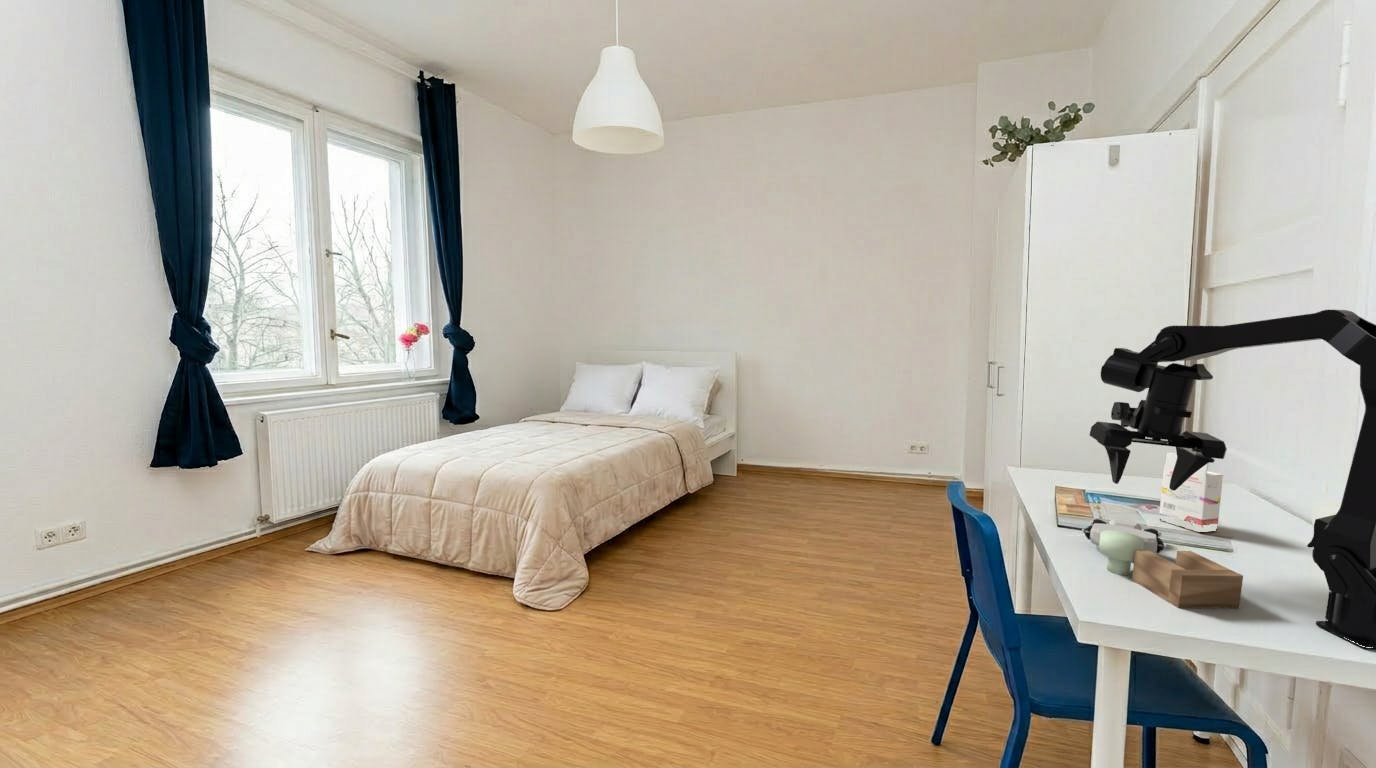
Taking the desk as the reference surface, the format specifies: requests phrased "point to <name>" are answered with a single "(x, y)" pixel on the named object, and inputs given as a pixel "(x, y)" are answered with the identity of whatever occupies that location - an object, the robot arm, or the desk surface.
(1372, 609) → the robot arm
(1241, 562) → the desk surface
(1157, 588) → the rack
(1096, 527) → the robot toy
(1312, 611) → the desk surface
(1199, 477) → the ink cartridge box
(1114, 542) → the peg
